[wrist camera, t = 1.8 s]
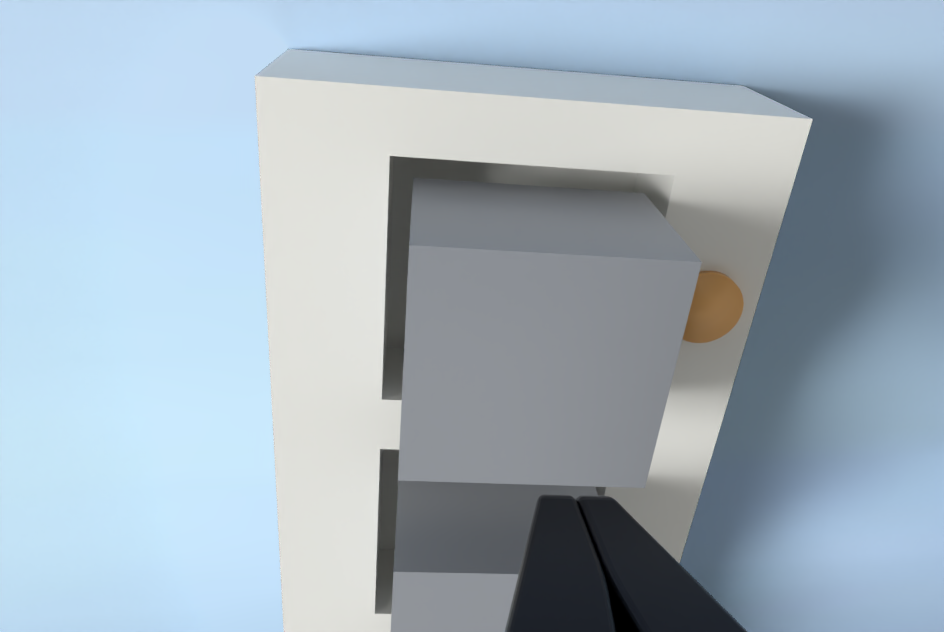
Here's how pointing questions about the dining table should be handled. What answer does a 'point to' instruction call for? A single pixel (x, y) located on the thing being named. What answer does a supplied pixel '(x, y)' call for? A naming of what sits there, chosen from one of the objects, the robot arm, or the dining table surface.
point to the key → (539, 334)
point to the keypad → (386, 271)
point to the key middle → (461, 552)
